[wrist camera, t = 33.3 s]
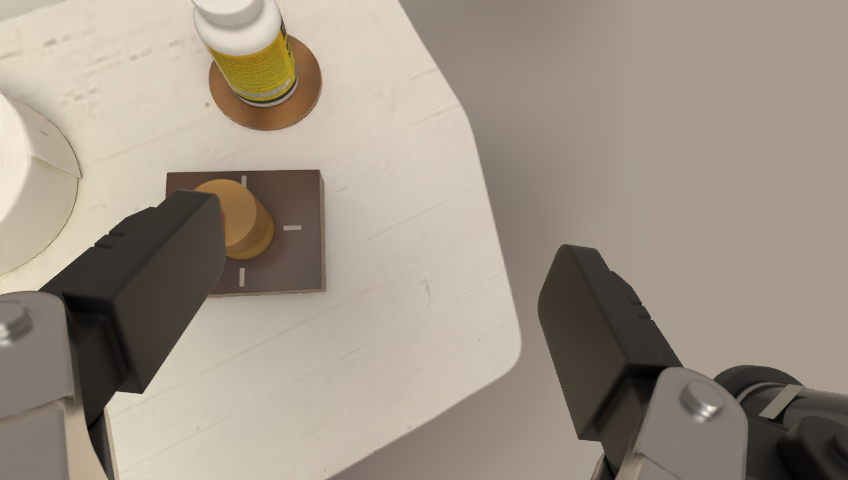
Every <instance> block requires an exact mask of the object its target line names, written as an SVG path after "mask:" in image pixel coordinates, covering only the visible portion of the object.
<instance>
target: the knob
mask: <svg viewBox="0 0 848 480" xmlns="http://www.w3.org/2000/svg"><path fill="white" fill-rule="evenodd" d="M194 191H200V192H208V193H214V194H216V195H217V196H218V197H219V199H220V203H221V210H222V219H223V227H224V236H225V244H226V256H227V257H230V258H233V259H240V260H241V259H249V258H253V257H255V256H257V255H259V254H260V253H262V252H263V251H264V250H265V249H266V248H267V247H268V246H269V244H270V243H271V241H272V238H273V235H274V222H273V219H272V216H271V215H270V213H269V212H268V210H267V209H266V208H265V207H264V206H263V205H262V204H261V203H260V202H259V201H258V200H257V199H256V197H255V196H254V195H253V194H252V193H251V192H250V191H249V190H248V189H247V188H246V187H245V186H243V185H242V184H240V183H238V182H235V181H232V180H226V179H218V180H212V181H208V182H206V183H204V184H202V185H200V186H199V187H197V188H196V189H195V190H194Z"/></svg>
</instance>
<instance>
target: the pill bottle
mask: <svg viewBox="0 0 848 480" xmlns="http://www.w3.org/2000/svg"><path fill="white" fill-rule="evenodd" d="M192 2H193V4H194V11H193V19H194V24H195V27H196V30H197V32H198V34H199V36H200V38H201V39H202V41H203V43H204V44H205V46H206V48H207V49H208V51H209V53H210V54H211V56H212V57H213V59H214V61H215V62H216V64H217V66H218V67H219V69H220V71H221V72H222V74H223V76H224V77H225V79H226V81H227V82H228V84H229V86H230V87H231V89H232V90H233V92H234V93H235V94H236V95H237V96H238V97H239V98H240V99H241V100H242V101H244V102H246V103H248V104H250V105H253V106H257V107H270V106H275V105H278V104H280V103H282V102H284V101H285V100H287V99H288V98H289V97H290V96H291V95H292V94H293V92H294V91H295V89H296V87H297V84H298V70H297V65H296V61H295V58H294V56H293V52H292V49H291V46H290V42H289V39H288V35H287V32H286V29H285V26H284V22H283V19H282V16H281V13H280V10H279V7H278V5H277V3H276V1H275V0H192Z"/></svg>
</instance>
